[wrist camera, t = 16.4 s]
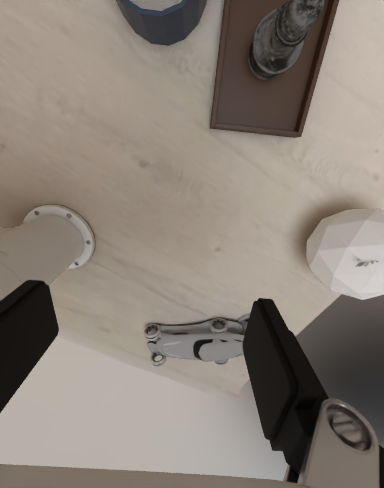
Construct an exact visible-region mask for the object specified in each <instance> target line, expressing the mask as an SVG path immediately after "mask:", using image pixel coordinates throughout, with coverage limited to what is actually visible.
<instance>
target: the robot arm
mask: <svg viewBox="0 0 384 488" xmlns="http://www.w3.org/2000/svg"><path fill="white" fill-rule="evenodd" d="M94 248H95V239H94V235H93V232H92V230H91V228H90V226H89V225H88V224H87V222H86V221H85V220H84V219H83V218H82V217H81V216H80V215H79V214H77V213H76V212H74V211H73V210H71V209H69V208H66V207H64V206H60V205H43V206H40V207H37V208H35V209H33V210H31V211H30V212H29V213H28V214H27V215H26V217H25V218H24V220H23V224H22V225H20V226H17V227H12V228H6V227H0V413H1V411H2V410H3V408H4V407H5V405H6V404H7V403H8V402H9V400H10V399H11V398H12V396H13V395H14V394H15V392H16V391H17V389H18V388H19V387H20V385H21V384H22V383H23V381H24V380H25V379H26V377H27V376H28V374H29V373H30V372H31V370H32V369H33V368H34V366H35V365H36V364H37V362H38V361H39V359H40V358H41V357H42V356H43V354H44V353H45V351H46V350H47V349H48V347H49V346H50V345H51V343H52V342H53V340H54V339H55V338H56V336H57V334H58V331H59V328H58V323H57V319H56V315H55V310H54V306H53V302H52V298H51V293H50V289H49V285H50V284H51V283H52V282H53V281H54V280H55V279H56V278H57V277H58V276H59V275H60V274H61V273H62V272H64V271H65V270H66V269H72V268H77V267H79V266H81V265H83V264H85V263H86V262H87V261H88V260H89V259H90V257H91V256H92V254H93V252H94ZM242 347H243V353H244V357H245V361H246V365H247V369H248V373H249V377H250V381H251V385H252V389H253V393H254V397H255V401H256V405H257V409H258V413H259V417H260V421H261V425H262V429H263V433H264V436H265V438H266V439H268V440H270V444H271V447H272V450H273V451H283V453H284V457H285V460H286V462H287V463H288V466H287V470H286V473H285V476H284V479H283V481H278V480H269V479H256V478H243V477H230V476H217V475H200V474H182V473H164V472H146V471H127V470H107V469H89V468H87V469H86V468H68V467H49V466H28V465H6V464H0V488H384V448H382V447H381V446H380V445H379V444H378V439H377V436H376V434H375V432H374V430H373V428H372V427H371V426H370V424H369V423H368V421H367V420H366V419H365V418H364V417H363V416H362V415H361V414H360V413H359V412H358V411H357V410H356V409H354V408H353V407H352V406H351V405H349V404H347V403H345V402H343V401H341V400H337V399H329V398H328V396H327V394H326V392H325V390H324V388H323V387H322V385H321V383H320V381H319V380H318V377H317V376H316V374H315V372H314V370H313V369H312V367H311V365H310V363H309V361H308V359H307V358H306V356H305V354H304V352H303V350H302V349H301V347H300V345H299V343H298V341H297V339H296V337H295V336H294V334H293V333H292V332H291V331H290V330H288V328H287V326H286V324H285V322H284V320H283V318H282V316H281V315H280V313H279V311H278V309H277V307H276V305H275V303H274V301H273V300H272V299H263V298H259V299H258V300H257V301H254V303H253V306H252V310H251V314H250V317H249V321H248V325H247V328H246V332H245V335H244V339H243V344H242Z"/></svg>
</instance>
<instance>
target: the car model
mask: <svg viewBox="0 0 384 488" xmlns="http://www.w3.org/2000/svg"><path fill="white" fill-rule="evenodd" d="M242 332H243V330H242V327H241V325H240V324H239V323H237V322H233V321H229V320H225V319H222V318H215V319H213V320H210V321H207V322H203V323H200V324H193V325H185V326H164V325H157V324H150V325H148V326H147V327H146V328H145V329H144V336H145V338H146V339H148V340H149V341H151V342H149V343H147V344H148V347H149V349H150V350H151V352H152V355H151V363H152V364H153V365H154V366H156V367H158V366H161V365H163V364H164V363H165V361H166V356H168V357H173V358H180V359H194V360H203V361H206V362H211V361H214V362H215V363H216V364H218V365H223V364H225V363H226V362H227V361H228V358H233V357H237V356H241V355H244V353H243V347H242V344H243V339H244V335H240V333H242ZM157 355H162V356H163V358H162V359H161V360H160V361H155V360H154V358H155V357H156V356H157Z"/></svg>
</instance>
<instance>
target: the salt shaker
mask: <svg viewBox="0 0 384 488" xmlns="http://www.w3.org/2000/svg"><path fill="white" fill-rule="evenodd" d="M323 6H324V0H289V1H287V2H286V3H285V4H284V5H283V6H282V7H281V8H276V9H274V10H272V11H270V12H269V13H268V14H267V15H266V16H265V17H263V19H262V20H261V22H260V23H259V25H258V27H257V29H256V32H255V34H254V39H253V41H252V44H251V46H250V49H249V54H248V62H249V67H250V69H251V71H252V73H253V74H254V75H255V76H256V77H257V78H259V79H262V80H269V79H272V78H274V77H276V76H277V75H278V74H279V73H281V72H284V71H286V70H287V69H288V68H290V67H291V66H292V65H293V64H294V62H295V61H296V60H297V58H298V56H299V55H300V53H301V50H302V46H303V43H304V39H305V37H306V36H307V34H308V32H309V29H310V27H311V26H312V25H313V24H314V23H315V22H316V20H317V19H318V18H319V16H320V14H321V12H322V9H323Z"/></svg>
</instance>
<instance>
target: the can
mask: <svg viewBox="0 0 384 488" xmlns="http://www.w3.org/2000/svg"><path fill="white" fill-rule="evenodd" d="M116 2H117V4H118V6H119V7H120V9H121V11H122V13H123V15H124V17H125V18H126V19H127V21H128V22H129V24H130V25H131V27H132V28H133V29H134V31H135V32H136V33H137V34H138V35H140V36H141V37H143V38H144V39H146V40H147V41H149V42H150V43H153V44H161V45H171V44H173V43H176V42H178V41H181V40H183V39H185V38H186V37H187V36H188V35H189V33H190V32H191V31H192V30H193V29H194V28H195V27H196V26H197V25H198V23H199V20H200V18H201V15H202V13H203V10H204V8H205V5H206V2H207V0H182V2H181V3H179V4H177V5H175V6H172V7H170V8H168V9H165V10H163V11H155V10H147V9H141V8H139V7H138V6H136V5H135V4H133V3H132V2H131V1H129V0H116Z"/></svg>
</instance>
